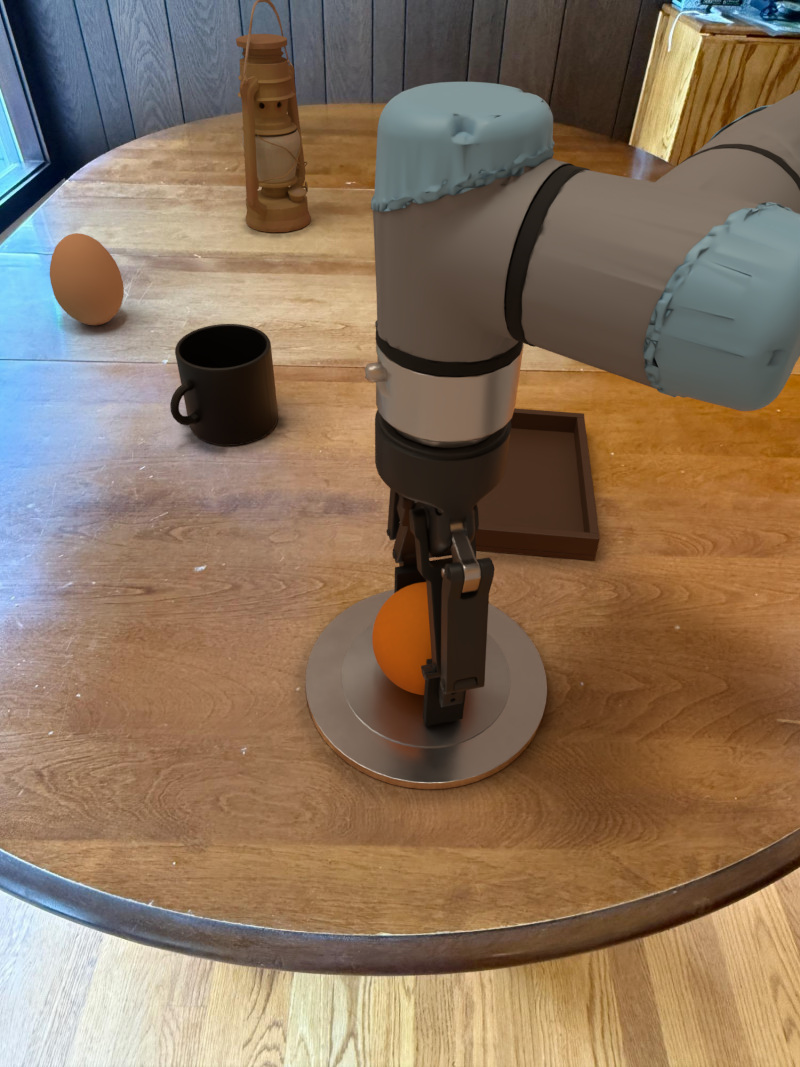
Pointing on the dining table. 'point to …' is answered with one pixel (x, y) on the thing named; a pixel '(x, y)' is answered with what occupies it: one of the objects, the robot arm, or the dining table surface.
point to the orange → (404, 637)
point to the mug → (226, 384)
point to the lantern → (271, 134)
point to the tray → (542, 491)
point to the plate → (397, 715)
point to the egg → (86, 280)
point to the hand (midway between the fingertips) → (426, 669)
